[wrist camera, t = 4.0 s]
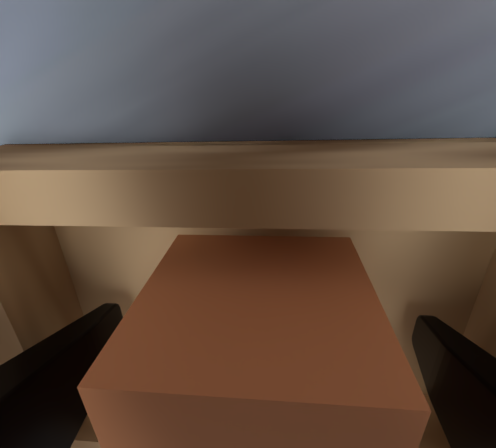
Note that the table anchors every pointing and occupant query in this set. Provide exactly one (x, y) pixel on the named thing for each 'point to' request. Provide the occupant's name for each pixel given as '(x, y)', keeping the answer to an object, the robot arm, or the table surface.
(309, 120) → the table surface
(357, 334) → the cube
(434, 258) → the birch box
